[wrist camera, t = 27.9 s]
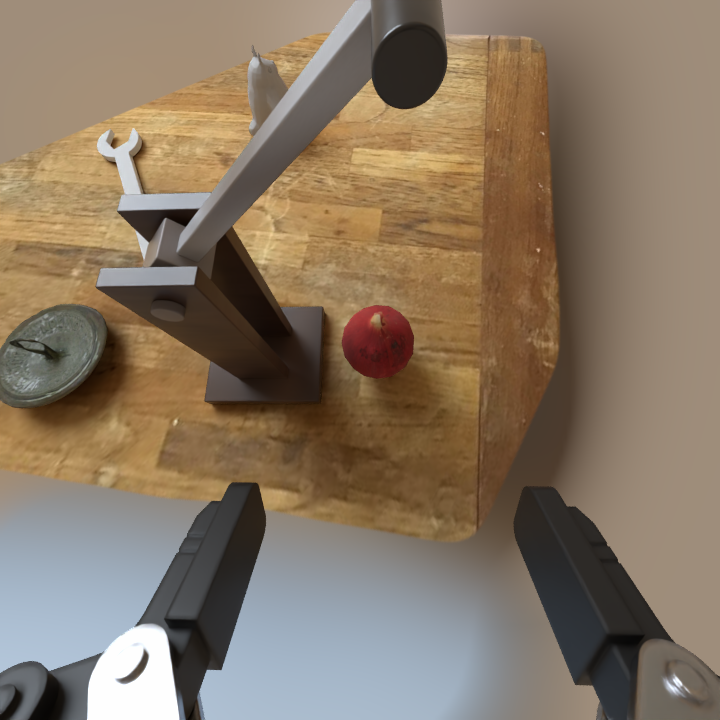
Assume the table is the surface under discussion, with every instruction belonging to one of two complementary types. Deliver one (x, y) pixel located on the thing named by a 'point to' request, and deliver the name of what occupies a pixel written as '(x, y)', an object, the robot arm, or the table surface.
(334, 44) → the silver and black bar
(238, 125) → the table surface
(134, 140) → the wrench
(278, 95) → the figurine
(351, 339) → the onion
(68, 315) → the lid
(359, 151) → the table surface
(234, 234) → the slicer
